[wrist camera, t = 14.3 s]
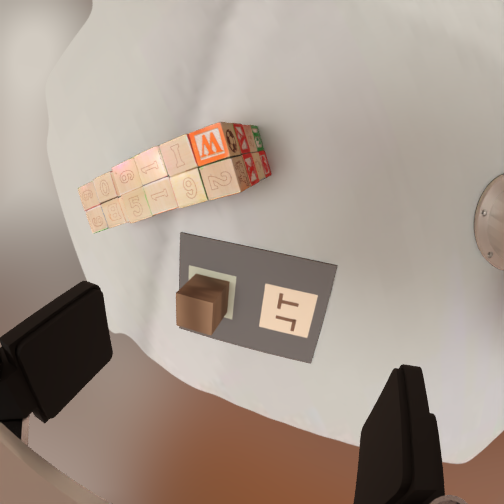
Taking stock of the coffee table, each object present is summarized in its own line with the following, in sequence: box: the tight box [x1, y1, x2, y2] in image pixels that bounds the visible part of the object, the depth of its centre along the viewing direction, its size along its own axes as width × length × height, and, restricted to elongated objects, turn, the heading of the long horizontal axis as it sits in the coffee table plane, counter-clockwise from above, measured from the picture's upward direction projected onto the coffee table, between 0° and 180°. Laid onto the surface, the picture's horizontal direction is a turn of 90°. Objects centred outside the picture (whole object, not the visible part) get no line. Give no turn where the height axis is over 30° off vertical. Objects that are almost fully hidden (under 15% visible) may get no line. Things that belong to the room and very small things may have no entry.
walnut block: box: [176, 274, 230, 336], centre depth 42 cm, size 5×5×6 cm
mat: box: [179, 232, 337, 363], centre depth 44 cm, size 21×16×1 cm
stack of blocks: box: [78, 122, 271, 234], centre depth 34 cm, size 21×6×12 cm, turn 106°
